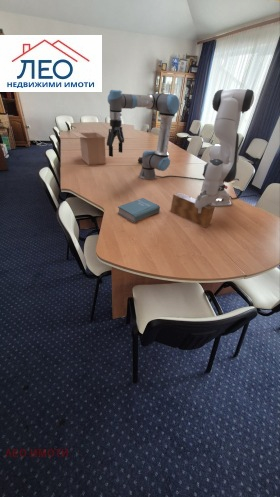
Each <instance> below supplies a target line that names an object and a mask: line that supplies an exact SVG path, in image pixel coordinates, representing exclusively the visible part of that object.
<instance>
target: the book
mask: <svg viewBox="0 0 280 497" xmlns="http://www.w3.org/2000/svg"><path fill="white" fill-rule="evenodd" d="M117 208H118V212H117V214H118V215H120V216H122V217H123V218H125V219H127V220H128V221H130V222H132V223H136V222H139V221H141V220H143V219H146V218H148V217H150V216H153V215H155V214H157V213H159V212H161V211H160V209H161V206H160V205H159V204H157V203H155V202H154V201H151V200H148V199H146V198H145V197H141V198H138V199H135V200H133V201H130V202H127V203H124V204H121V205H118V207H117Z"/></svg>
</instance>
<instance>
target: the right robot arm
mask: <svg viewBox="0 0 280 497" xmlns="http://www.w3.org/2000/svg"><path fill="white" fill-rule="evenodd" d="M211 101H212V102H211V106H212V109H213V111H215V112H216V116H215V120H214V124H213V134H214V135H215V137H216V138H217V139H218V141H219V144H214V145H212V146H211V147H210V148H209V152H208V155H209V159H210V160H209V161H208V162H207V163H206V164H204V167H203V172H202V177H203V179H204V180H202V185H201V189H200V193H199V194H197V196H196V198H195V199H196V201H195V207H196V208H198V213H202V210H201V209H202V207H204V206H206V205H208V204H209V205H211V206H214V207H226V206H232V203H233V202H232V201H231V200H236V199H239V198H248V197H253V196H255V197H258V195H256V194H251V195H241V196H237V197H232V195H230V194H229V193H228V192H227V190H228V188H229V187H228V185H226V184H225V183H227V184H228V183H232V181H235V180H234V179H236V177H237V174H238V173H237V170H238V168H237V167H238V166H237V165H238V164H237V163H239V162H238V161H239V158H240V156H239V145H240V144H239V142H240V140H239V139H240V137H239V133H238V131H239V126H240V122H241V114H242V115H243V114H244V113H246V112H248V111H249V110H250V109H251V107H252V106H253V104H254V101H255V92H254V90H253V89H250V88H247V89H244V88H229V89H218V90H217V91H216V92H215V93H214V95H213V97H212V100H211ZM230 199H231V200H230Z"/></svg>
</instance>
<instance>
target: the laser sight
mask: <svg viewBox="0 0 280 497" xmlns="http://www.w3.org/2000/svg"><path fill="white" fill-rule="evenodd" d="M137 162H138V164H141V165H142V156H141V157H140V156H139V157H138V159H137Z"/></svg>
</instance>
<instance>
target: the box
mask: <svg viewBox="0 0 280 497" xmlns="http://www.w3.org/2000/svg"><path fill="white" fill-rule="evenodd" d="M70 133H71V134H72V135H74V136H75V137H77V138H79V144H80V153H81V160H83V162H85V163H86V165H87V166H95V165H97V166H98V165H106V163H107V162H106V158H107V157H106V138H108V134H109V133H108V132H105V131H98V132H96V131H95V130H92V129H91V130H77V132H76V131H70Z"/></svg>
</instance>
